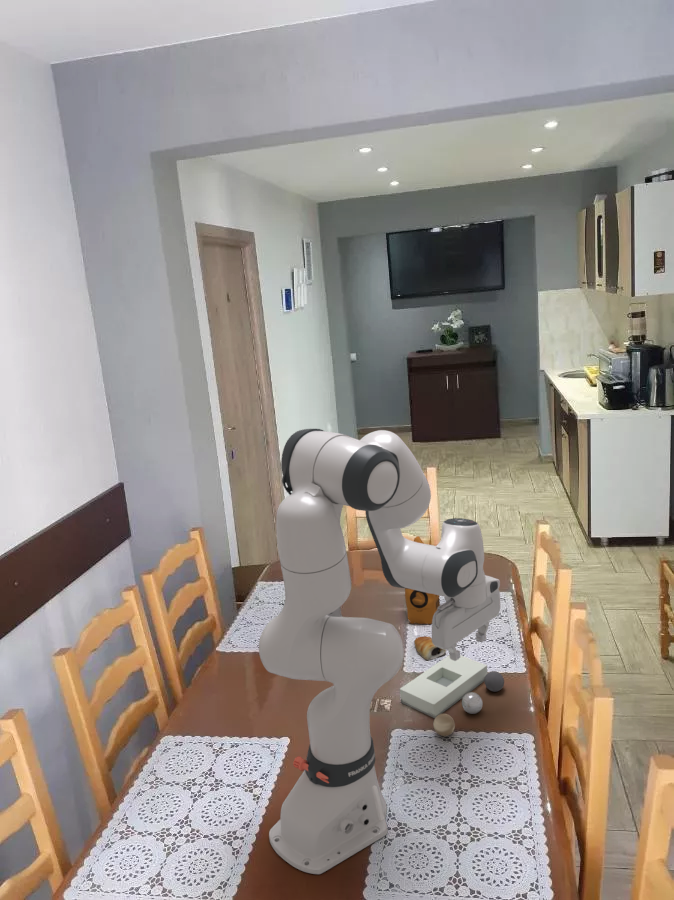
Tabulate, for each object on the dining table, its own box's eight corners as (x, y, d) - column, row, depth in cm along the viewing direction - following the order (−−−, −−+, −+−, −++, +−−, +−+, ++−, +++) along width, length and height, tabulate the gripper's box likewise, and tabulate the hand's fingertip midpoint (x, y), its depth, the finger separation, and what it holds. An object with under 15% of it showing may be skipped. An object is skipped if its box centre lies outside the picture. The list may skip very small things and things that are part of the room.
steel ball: (475, 720, 156) (473, 702, 155) (458, 713, 160) (457, 695, 159) (487, 710, 159) (486, 692, 158) (470, 703, 163) (469, 685, 162)
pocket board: (435, 718, 159) (434, 704, 158) (400, 702, 166) (399, 688, 165) (487, 678, 172) (486, 665, 171) (453, 665, 179) (453, 652, 178)
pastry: (408, 647, 190) (407, 633, 189) (430, 640, 193) (429, 627, 192) (426, 663, 182) (425, 649, 181) (449, 655, 184) (448, 641, 183)
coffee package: (402, 625, 201) (396, 552, 196) (408, 605, 213) (403, 535, 208) (438, 626, 199) (433, 552, 194) (442, 605, 210) (437, 535, 205)
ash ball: (446, 743, 150) (445, 724, 149) (429, 735, 153) (428, 716, 152) (459, 733, 153) (458, 714, 152) (442, 725, 156) (441, 706, 155)
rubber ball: (497, 697, 164) (496, 680, 163) (480, 690, 167) (479, 673, 166) (508, 688, 167) (507, 671, 166) (492, 682, 170) (491, 665, 169)
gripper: (446, 613, 144) (450, 675, 147) (504, 577, 157) (507, 635, 160) (422, 605, 148) (426, 665, 152) (480, 571, 162) (483, 626, 165)
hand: (468, 649), depth 156 cm, fingers open, 8 cm apart
